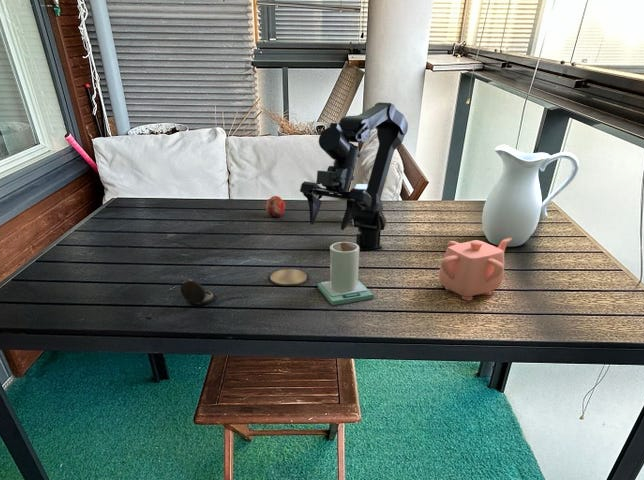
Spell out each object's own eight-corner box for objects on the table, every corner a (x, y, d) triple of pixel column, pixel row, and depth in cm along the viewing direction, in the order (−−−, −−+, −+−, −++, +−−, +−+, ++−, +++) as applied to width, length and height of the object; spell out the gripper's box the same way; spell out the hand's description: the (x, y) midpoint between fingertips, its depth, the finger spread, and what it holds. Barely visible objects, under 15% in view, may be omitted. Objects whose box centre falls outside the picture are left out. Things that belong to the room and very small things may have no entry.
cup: (351, 278, 129) (352, 240, 123) (362, 289, 123) (364, 249, 117) (325, 282, 127) (326, 243, 121) (335, 293, 121) (336, 253, 115)
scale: (356, 281, 131) (356, 276, 130) (373, 298, 122) (373, 292, 121) (317, 287, 128) (317, 282, 127) (332, 305, 119) (332, 299, 118)
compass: (218, 295, 124) (214, 269, 120) (205, 309, 118) (201, 282, 114) (189, 292, 126) (185, 266, 122) (175, 306, 119) (170, 279, 115)
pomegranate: (271, 218, 184) (256, 207, 176) (279, 200, 184) (265, 188, 175) (285, 224, 181) (271, 213, 172) (294, 206, 180) (280, 194, 172)
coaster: (300, 268, 138) (300, 267, 138) (311, 282, 130) (311, 280, 130) (266, 273, 136) (266, 272, 135) (275, 288, 128) (275, 286, 127)
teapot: (435, 300, 121) (442, 249, 114) (439, 275, 134) (446, 228, 127) (505, 307, 118) (517, 256, 110) (502, 281, 130) (513, 233, 123)
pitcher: (474, 246, 152) (491, 151, 137) (481, 229, 165) (497, 141, 150) (556, 256, 145) (584, 157, 129) (556, 238, 158) (582, 146, 142)
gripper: (297, 150, 122) (281, 211, 123) (364, 158, 114) (345, 223, 115) (317, 168, 132) (302, 224, 133) (379, 176, 124) (362, 236, 125)
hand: (326, 226), depth 126 cm, fingers open, 9 cm apart
